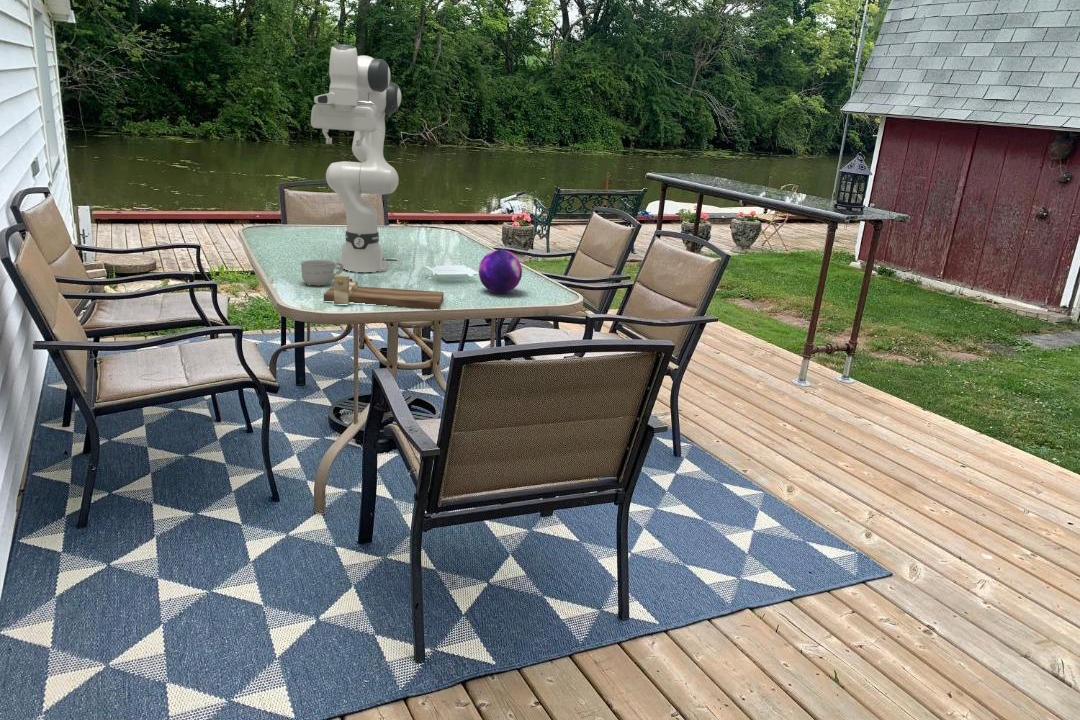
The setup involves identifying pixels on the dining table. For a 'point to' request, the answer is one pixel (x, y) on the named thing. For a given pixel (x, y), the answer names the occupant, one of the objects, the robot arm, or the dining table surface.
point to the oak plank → (393, 297)
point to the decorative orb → (500, 271)
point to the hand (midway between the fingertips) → (344, 145)
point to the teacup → (319, 271)
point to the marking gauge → (343, 288)
